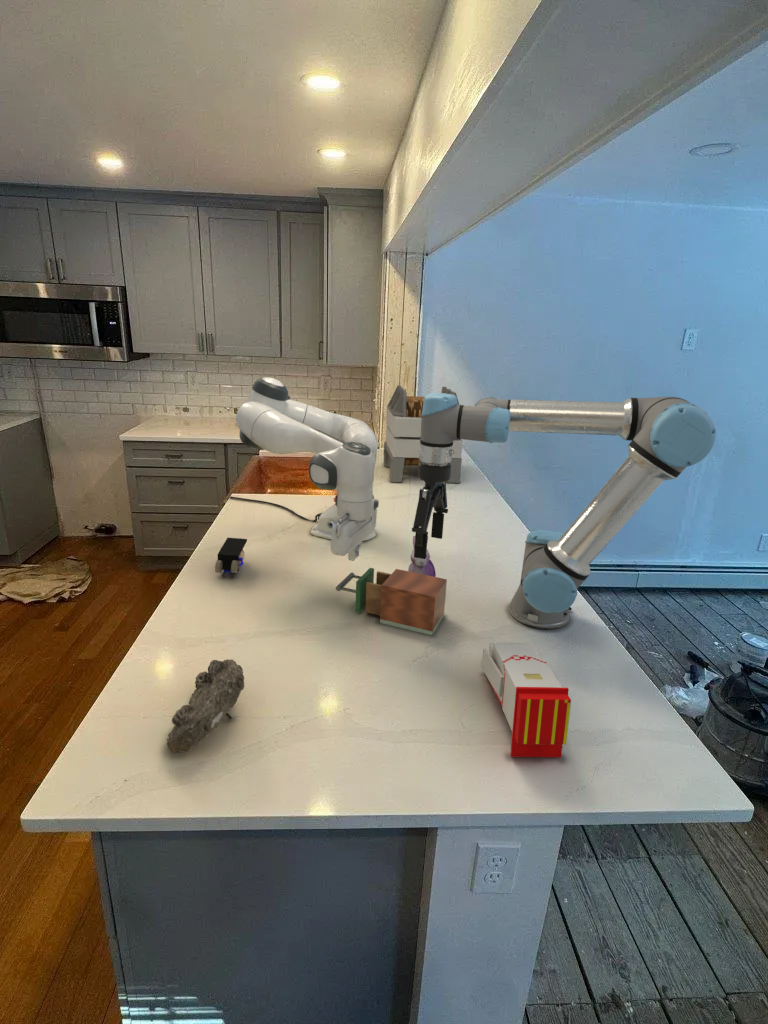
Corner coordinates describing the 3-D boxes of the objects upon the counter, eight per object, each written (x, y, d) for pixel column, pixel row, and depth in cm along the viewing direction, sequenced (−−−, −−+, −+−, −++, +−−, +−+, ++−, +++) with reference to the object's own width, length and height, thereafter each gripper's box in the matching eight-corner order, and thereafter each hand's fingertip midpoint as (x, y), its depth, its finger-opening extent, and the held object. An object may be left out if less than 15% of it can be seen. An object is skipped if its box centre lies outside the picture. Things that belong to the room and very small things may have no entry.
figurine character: (238, 584, 162) (249, 557, 175) (236, 562, 158) (247, 536, 172) (215, 584, 161) (227, 556, 175) (212, 561, 158) (225, 535, 171)
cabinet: (379, 622, 143) (381, 585, 139) (394, 604, 152) (396, 568, 149) (432, 635, 138) (435, 596, 135) (443, 615, 148) (447, 579, 144)
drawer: (335, 607, 148) (335, 577, 145) (349, 592, 156) (350, 563, 153) (401, 623, 141) (403, 592, 138) (413, 607, 149) (415, 576, 146)
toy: (531, 625, 126) (580, 695, 97) (526, 680, 129) (572, 765, 100) (477, 624, 126) (510, 694, 96) (473, 679, 129) (504, 764, 99)
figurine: (415, 595, 157) (419, 545, 152) (397, 579, 166) (400, 532, 161) (444, 589, 161) (448, 540, 156) (425, 574, 170) (428, 527, 165)
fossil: (192, 660, 117) (244, 628, 112) (224, 691, 120) (276, 661, 115) (142, 746, 98) (202, 712, 93) (182, 779, 101) (242, 748, 96)
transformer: (382, 463, 289) (386, 382, 275) (445, 464, 293) (451, 384, 279) (390, 482, 257) (394, 392, 243) (460, 483, 261) (468, 394, 247)
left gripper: (348, 523, 131) (347, 577, 136) (381, 498, 149) (379, 547, 154) (324, 518, 133) (324, 572, 138) (359, 495, 152) (358, 542, 156)
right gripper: (435, 478, 118) (428, 570, 125) (464, 452, 140) (456, 532, 147) (401, 473, 120) (396, 563, 128) (435, 449, 142) (429, 527, 150)
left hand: (353, 558), depth 146 cm, fingers closed
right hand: (428, 547), depth 137 cm, fingers open, 13 cm apart
